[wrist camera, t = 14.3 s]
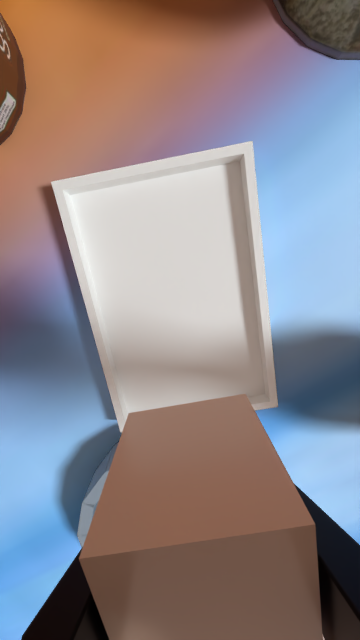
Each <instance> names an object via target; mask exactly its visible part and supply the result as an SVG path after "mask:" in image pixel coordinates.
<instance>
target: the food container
mask: <svg viewBox="0 0 360 640" xmlns="http://www.w3.org/2000/svg"><path fill="white" fill-rule="evenodd" d="M25 92H26V81H25V72H24V64H23V58H22V55H21V53H20V50H19V47H18V45H17V42H16V39H15V37H14V35H13V33H12V32H11V30H10V28H9V26H8V24H7V23H6V21H5V20H4V18H3V16H2V15H1V13H0V145H1V144H2V143H3V142H4V141H5V140H6V139H7V138H8V137H9V136H10V135H11V134H12V132H13V130H14V128H15V126H16V124H17V122H18V120H19V118H20V116H21V114H22V111H23V104H24V98H25Z"/></svg>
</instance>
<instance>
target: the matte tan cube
mask: <svg viewBox="0 0 360 640" xmlns="http://www.w3.org/2000/svg"><path fill="white" fill-rule="evenodd" d="M79 561H80V563H81V566H82V569H83V571H84V574H85V577H86V579H87V582H88V585H89V587H90V590H91V592H92V595H93V598H94V600H95V603H96V606H97V608H98V611H99V614H100V616H101V619H102V622H103V624H104V627H105V629H106V632H107V635H108V637H109V640H323V636H322V620H321V605H320V589H319V574H318V558H317V543H316V527H315V523H314V521H313V519H312V517H311V515H310V513H309V512H308V510H307V508H306V506H305V504H304V502H303V500H302V498H301V497H300V495H299V493H298V491H297V489H296V487H295V485H294V484H293V482H292V480H291V478H290V476H289V474H288V472H287V470H286V469H285V467H284V465H283V463H282V461H281V459H280V457H279V455H278V454H277V452H276V450H275V448H274V446H273V444H272V442H271V440H270V439H269V437H268V435H267V433H266V431H265V429H264V427H263V426H262V424H261V422H260V420H259V418H258V416H257V414H256V412H255V411H254V409H253V407H252V405H251V403H250V401H249V399H248V397H247V396H246V394H240V395H234V396H228V397H222V398H216V399H210V400H204V401H198V402H192V403H186V404H180V405H174V406H168V407H162V408H156V409H150V410H144V411H138V412H132V413H129V414H128V417H127V420H126V422H125V425H124V428H123V431H122V434H121V437H120V440H119V443H118V446H117V449H116V452H115V455H114V458H113V460H112V463H111V466H110V469H109V472H108V475H107V478H106V481H105V484H104V487H103V490H102V493H101V496H100V498H99V501H98V504H97V507H96V510H95V513H94V516H93V519H92V522H91V525H90V528H89V531H88V534H87V537H86V539H85V542H84V545H83V548H82V551H81V554H80V557H79Z"/></svg>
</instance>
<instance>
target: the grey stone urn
mask: <svg viewBox="0 0 360 640" xmlns="http://www.w3.org/2000/svg"><path fill="white" fill-rule="evenodd" d="M273 2H274V4H275V6H276V8H277V10H278V12H279V14H280V16H281V18H282V20H283V22H284V23H285V24H286V25H287V26H288V27H289V28H290V29H291V30H292V31H293V32H294V33H295V34H296V35H297V36H298V37H299V38H300V39H301V40H302V41H303V42H304V43H305V44H306V45H307V46H308V47H310V48H312V49H314V50H316V51H319V52H321V53H323V54H326V55H328V56H330V57H333V58H335V59H337V60H360V0H273Z"/></svg>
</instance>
